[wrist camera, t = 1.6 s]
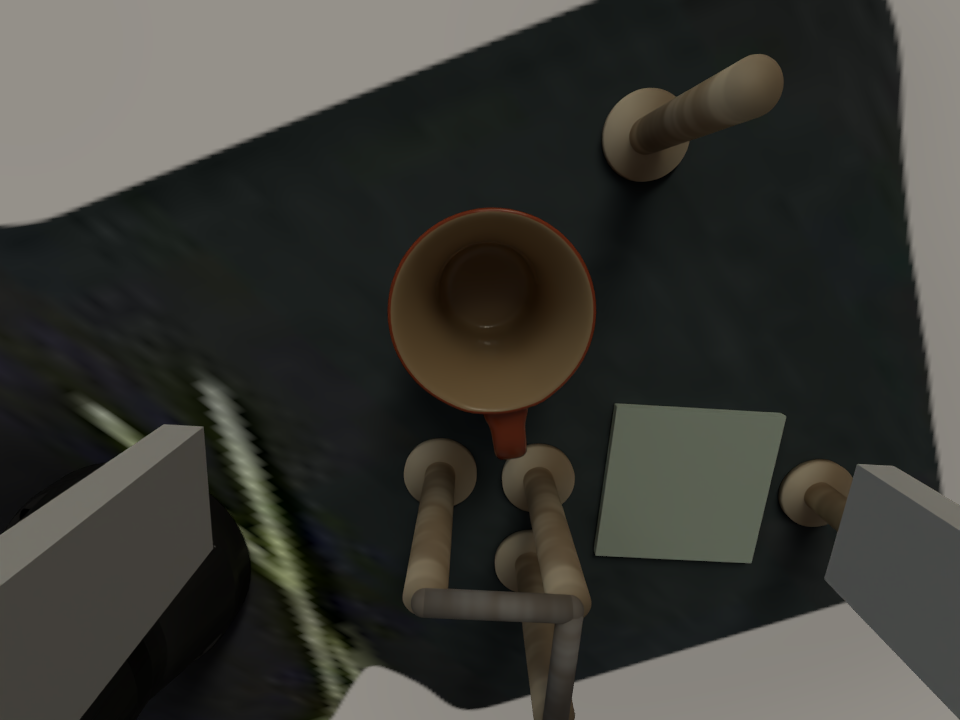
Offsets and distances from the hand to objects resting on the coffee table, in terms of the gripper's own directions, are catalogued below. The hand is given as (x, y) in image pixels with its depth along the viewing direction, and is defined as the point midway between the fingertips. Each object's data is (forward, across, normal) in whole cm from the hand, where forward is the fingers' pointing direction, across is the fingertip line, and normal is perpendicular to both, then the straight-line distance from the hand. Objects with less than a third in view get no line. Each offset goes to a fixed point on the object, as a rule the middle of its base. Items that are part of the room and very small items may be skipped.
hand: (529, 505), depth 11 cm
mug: (+22, 0, 0) cm, 23 cm away
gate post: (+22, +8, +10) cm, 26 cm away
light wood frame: (+22, +1, -14) cm, 26 cm away
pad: (+22, +14, -11) cm, 28 cm away
